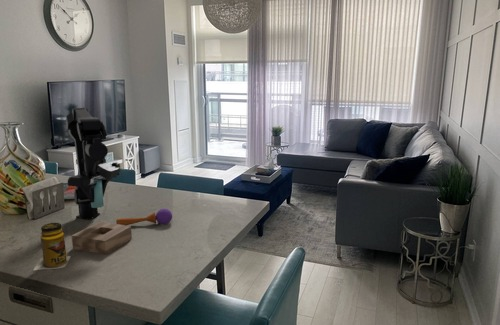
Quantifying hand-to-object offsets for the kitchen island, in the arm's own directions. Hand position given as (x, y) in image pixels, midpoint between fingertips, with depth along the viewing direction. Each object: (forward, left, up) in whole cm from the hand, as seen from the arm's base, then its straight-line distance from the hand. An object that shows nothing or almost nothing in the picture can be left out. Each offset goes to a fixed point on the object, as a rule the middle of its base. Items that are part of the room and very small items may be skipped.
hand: (97, 200), depth 130 cm
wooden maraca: (+9, +13, -13) cm, 21 cm away
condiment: (+2, -22, -13) cm, 26 cm away
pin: (0, 0, -2) cm, 2 cm away
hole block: (+6, -6, -13) cm, 15 cm away
